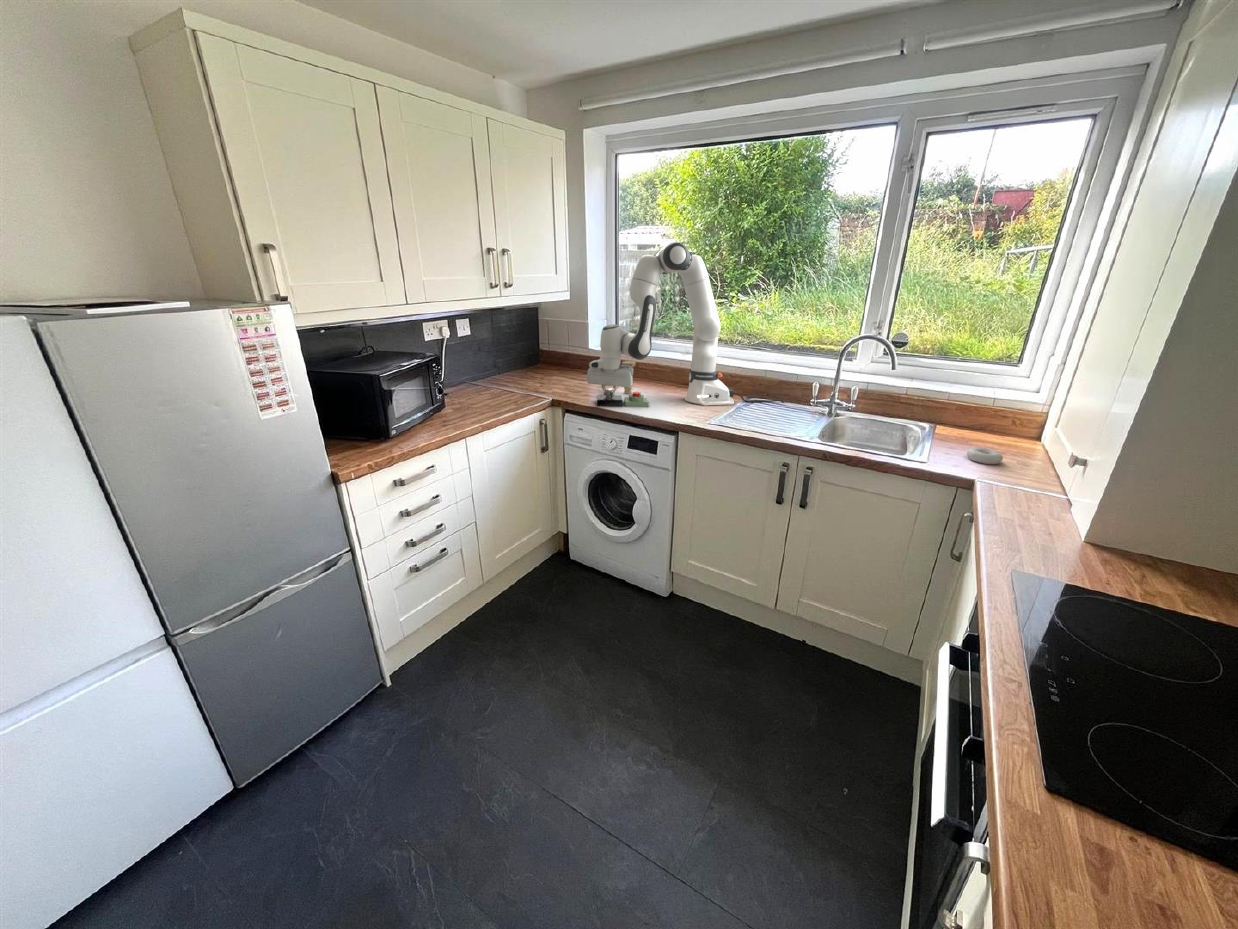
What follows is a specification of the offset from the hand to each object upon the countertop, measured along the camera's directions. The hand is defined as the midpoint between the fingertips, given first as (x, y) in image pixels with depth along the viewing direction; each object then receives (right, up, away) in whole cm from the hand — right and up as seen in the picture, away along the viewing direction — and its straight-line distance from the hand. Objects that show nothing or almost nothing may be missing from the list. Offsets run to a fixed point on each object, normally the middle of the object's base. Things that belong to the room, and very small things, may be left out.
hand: (609, 395), depth 219 cm
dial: (0, -1, 0) cm, 1 cm away
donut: (+127, -29, -52) cm, 140 cm away
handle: (+9, +4, +22) cm, 24 cm away
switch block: (+12, -4, +2) cm, 13 cm away
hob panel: (0, -4, +2) cm, 4 cm away
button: (+12, 0, +1) cm, 12 cm away
